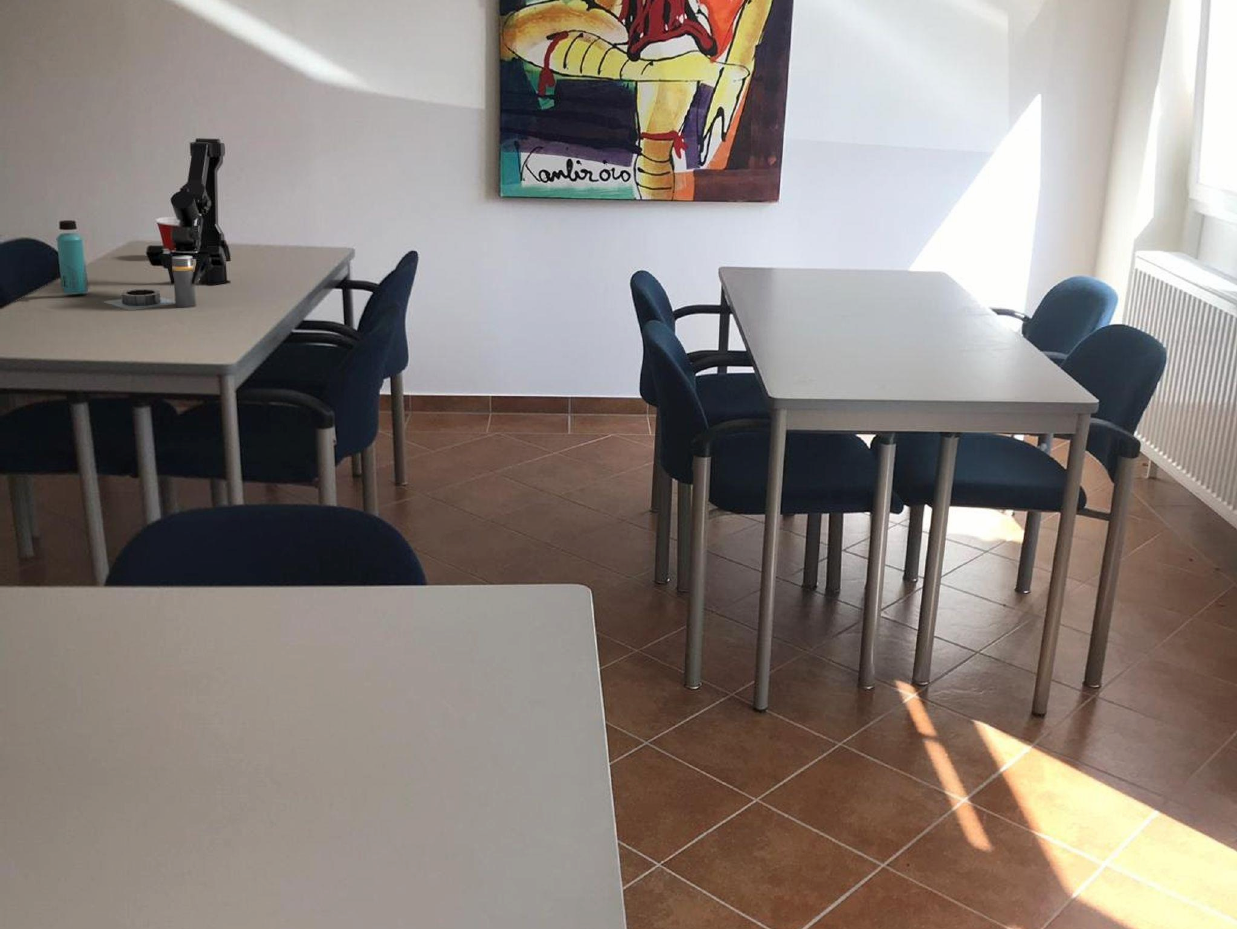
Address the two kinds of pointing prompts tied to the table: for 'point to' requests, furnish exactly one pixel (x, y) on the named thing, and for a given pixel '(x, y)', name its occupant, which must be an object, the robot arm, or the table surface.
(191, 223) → the robot arm
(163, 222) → the plastic cup
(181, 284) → the gray canister
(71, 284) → the beverage bottle
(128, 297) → the barrel ring
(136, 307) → the blue-gray square plate
